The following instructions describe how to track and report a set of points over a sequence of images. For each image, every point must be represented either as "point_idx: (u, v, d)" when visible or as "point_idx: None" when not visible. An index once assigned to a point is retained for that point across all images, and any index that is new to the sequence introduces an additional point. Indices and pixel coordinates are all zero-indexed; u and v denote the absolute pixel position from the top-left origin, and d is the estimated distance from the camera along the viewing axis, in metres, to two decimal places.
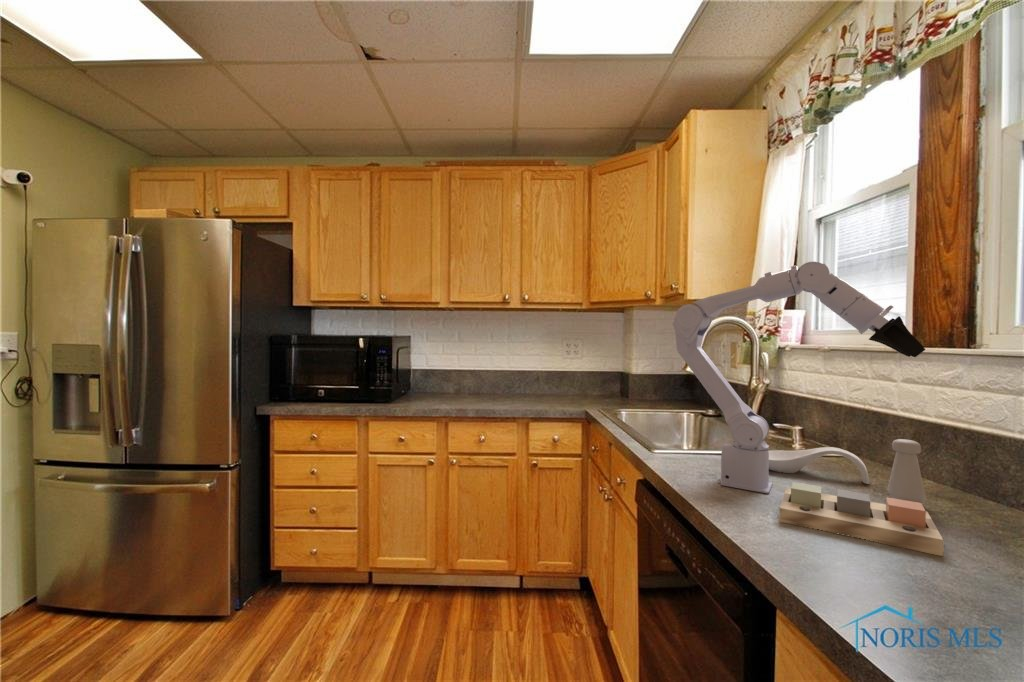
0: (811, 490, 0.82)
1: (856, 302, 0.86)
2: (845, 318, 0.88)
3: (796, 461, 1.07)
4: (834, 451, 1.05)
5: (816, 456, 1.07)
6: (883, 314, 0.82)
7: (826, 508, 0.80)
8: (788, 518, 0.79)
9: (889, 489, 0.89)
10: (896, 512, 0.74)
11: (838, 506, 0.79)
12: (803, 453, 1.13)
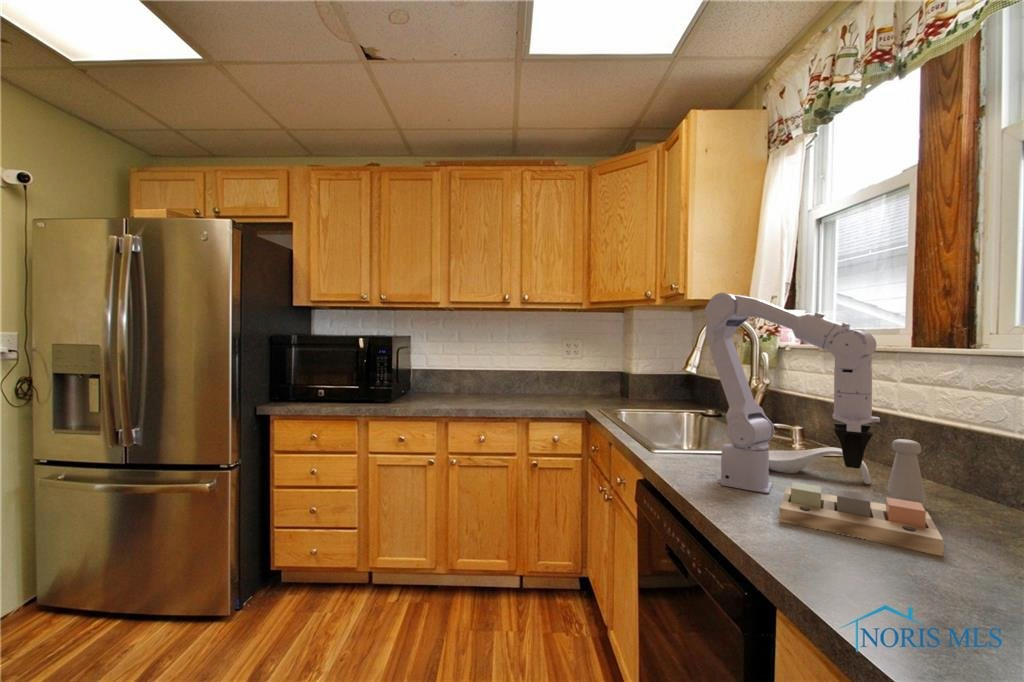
0: (811, 490, 0.82)
1: (858, 395, 0.81)
2: (835, 398, 0.85)
3: (797, 461, 1.07)
4: (835, 451, 1.05)
5: (817, 456, 1.06)
6: (864, 422, 0.79)
7: (826, 508, 0.80)
8: (788, 518, 0.79)
9: (889, 489, 0.89)
10: (896, 512, 0.74)
11: (838, 506, 0.79)
12: (804, 453, 1.13)
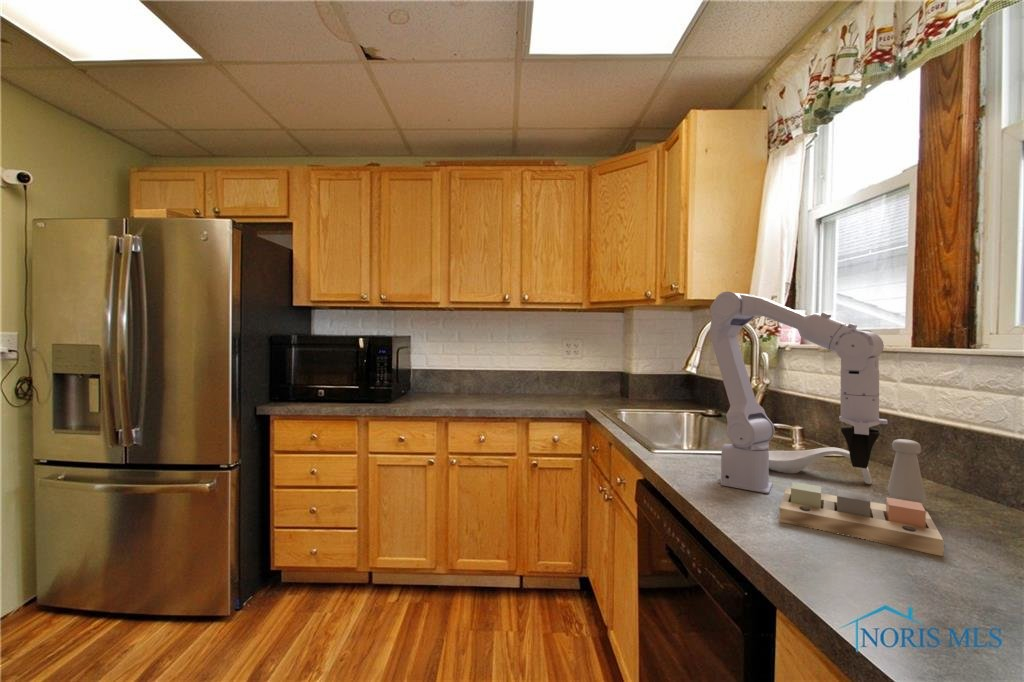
0: (811, 490, 0.82)
1: (865, 397, 0.80)
2: (842, 400, 0.83)
3: (798, 461, 1.07)
4: (836, 451, 1.05)
5: (818, 456, 1.06)
6: (872, 425, 0.78)
7: (826, 508, 0.80)
8: (788, 518, 0.79)
9: (889, 489, 0.89)
10: (896, 512, 0.74)
11: (838, 506, 0.79)
12: (804, 453, 1.13)
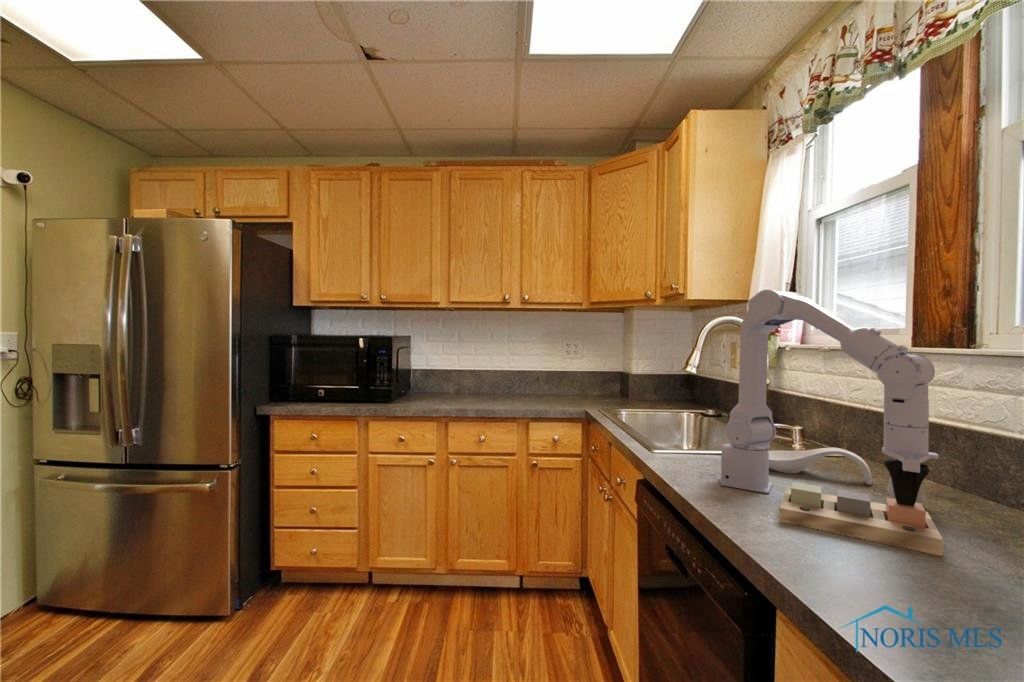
0: (811, 490, 0.82)
1: (913, 429, 0.72)
2: (886, 430, 0.76)
3: (798, 461, 1.07)
4: (837, 451, 1.05)
5: (818, 456, 1.06)
6: (922, 460, 0.70)
7: (826, 508, 0.80)
8: (788, 518, 0.79)
9: (889, 489, 0.89)
10: (896, 512, 0.74)
11: (838, 506, 0.79)
12: (805, 453, 1.13)
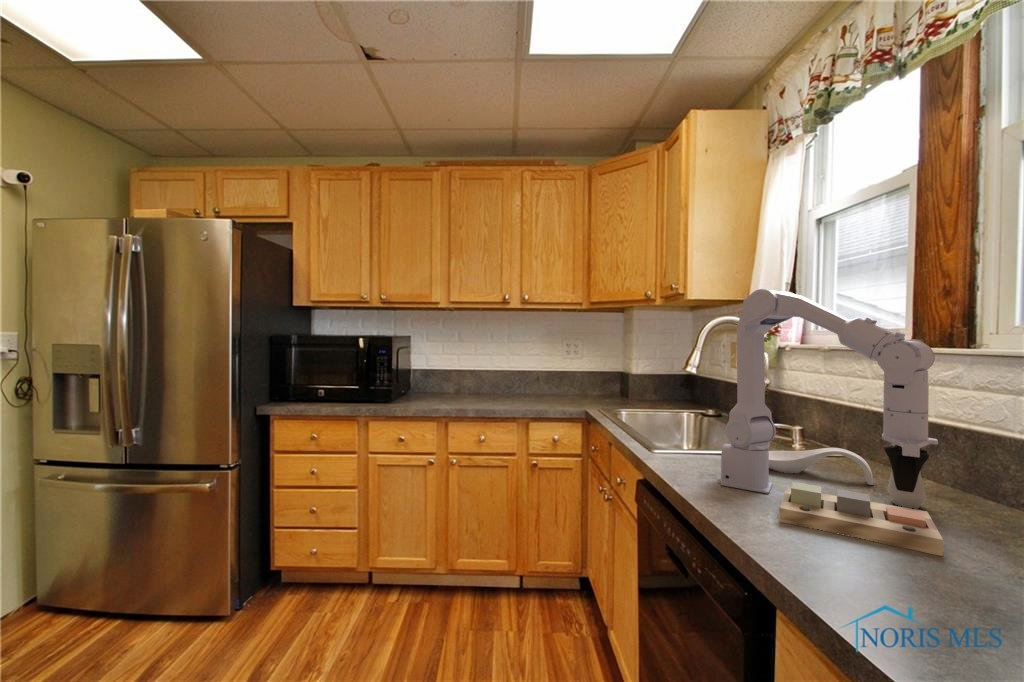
0: (811, 490, 0.82)
1: (913, 414, 0.72)
2: (886, 416, 0.76)
3: (799, 461, 1.07)
4: (838, 452, 1.05)
5: (819, 457, 1.06)
6: (922, 445, 0.71)
7: (826, 508, 0.80)
8: (788, 518, 0.79)
9: (889, 489, 0.89)
10: (896, 521, 0.74)
11: (838, 506, 0.79)
12: (807, 453, 1.13)
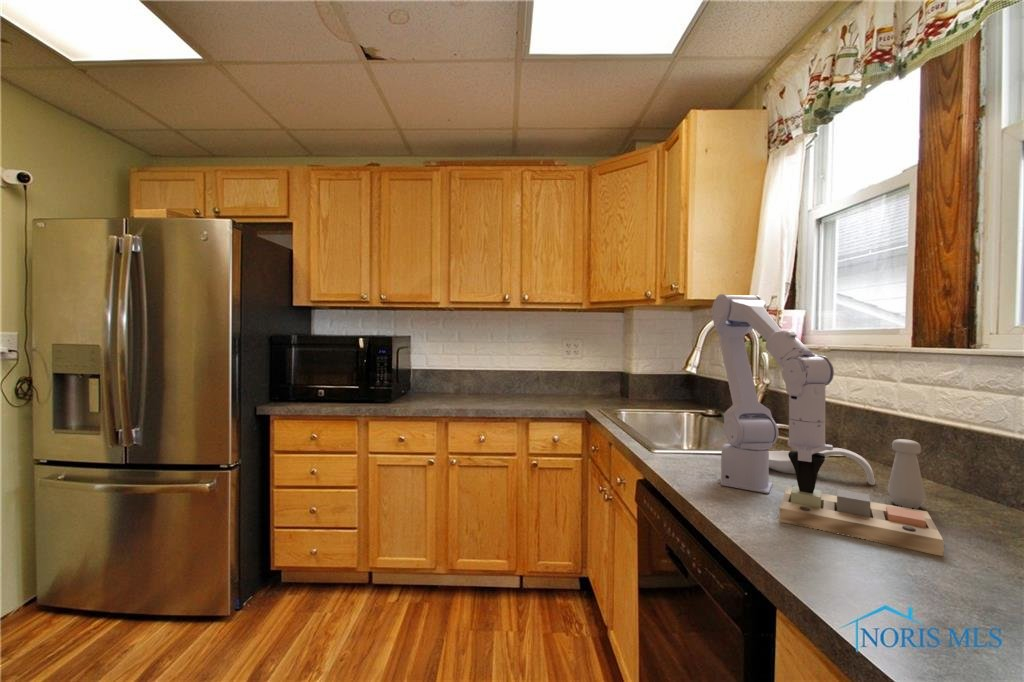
0: (811, 494, 0.82)
1: (810, 423, 0.81)
2: (790, 425, 0.84)
3: None
4: (839, 452, 1.05)
5: None
6: (816, 451, 0.79)
7: (826, 508, 0.80)
8: (788, 518, 0.79)
9: (889, 489, 0.89)
10: (896, 521, 0.74)
11: (838, 506, 0.79)
12: None
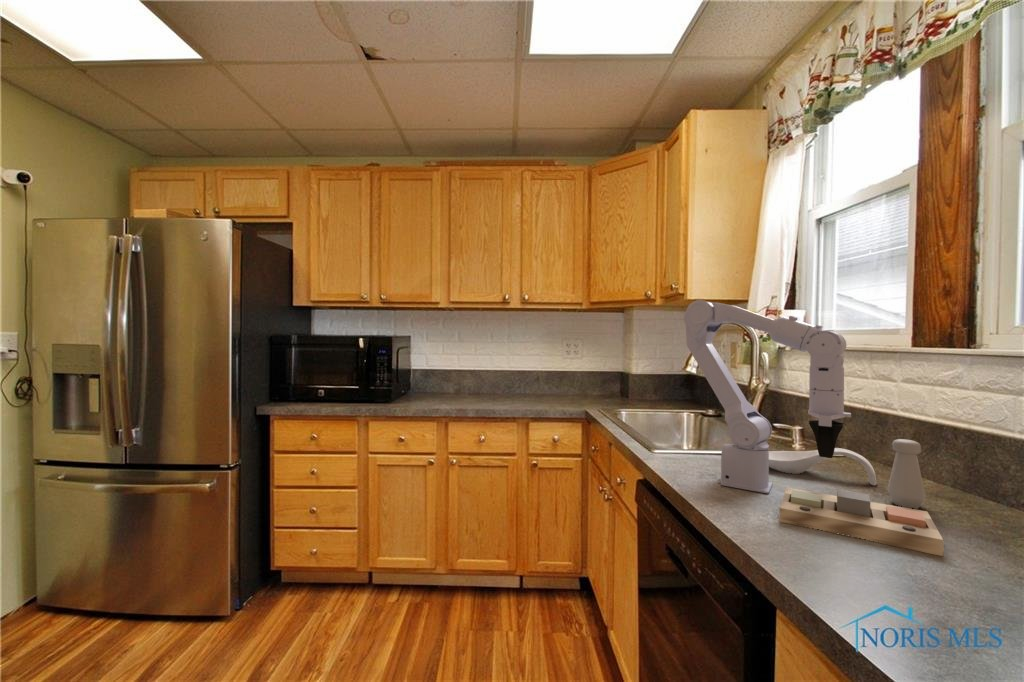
0: (811, 499, 0.82)
1: (830, 392, 0.87)
2: (810, 394, 0.90)
3: (802, 462, 1.07)
4: (840, 452, 1.04)
5: (822, 457, 1.06)
6: (835, 417, 0.85)
7: (826, 508, 0.80)
8: (788, 518, 0.79)
9: (889, 489, 0.89)
10: (896, 521, 0.74)
11: (838, 506, 0.79)
12: (809, 454, 1.12)
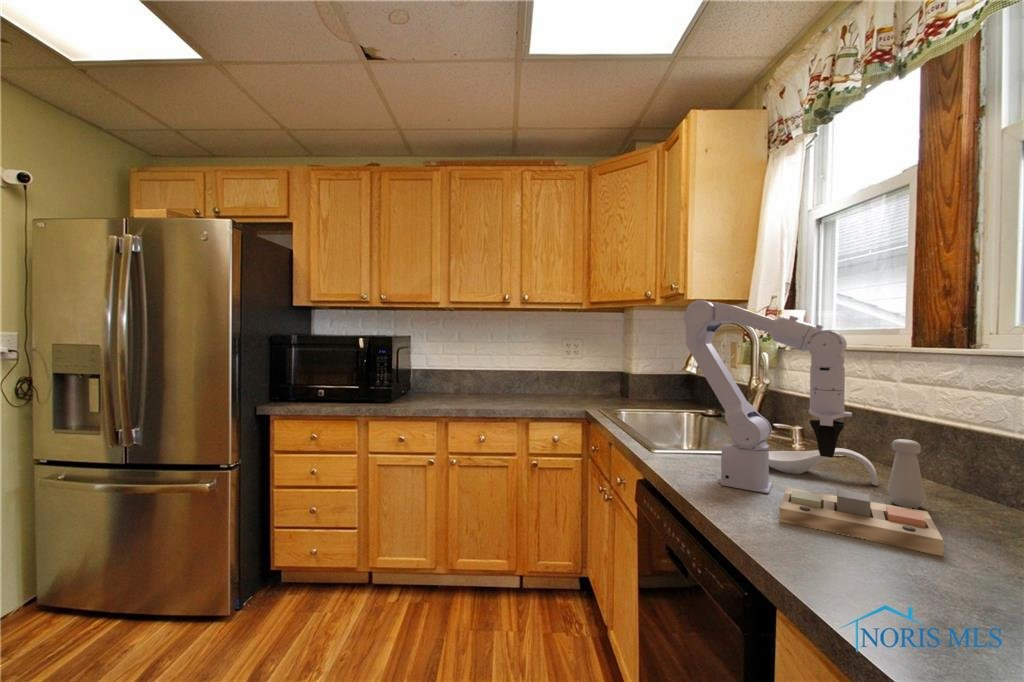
0: (811, 499, 0.82)
1: (831, 392, 0.87)
2: (811, 394, 0.90)
3: (803, 462, 1.07)
4: (842, 452, 1.04)
5: (824, 457, 1.06)
6: (836, 417, 0.85)
7: (826, 508, 0.80)
8: (788, 518, 0.79)
9: (889, 489, 0.89)
10: (896, 521, 0.74)
11: (838, 506, 0.79)
12: (811, 454, 1.12)
